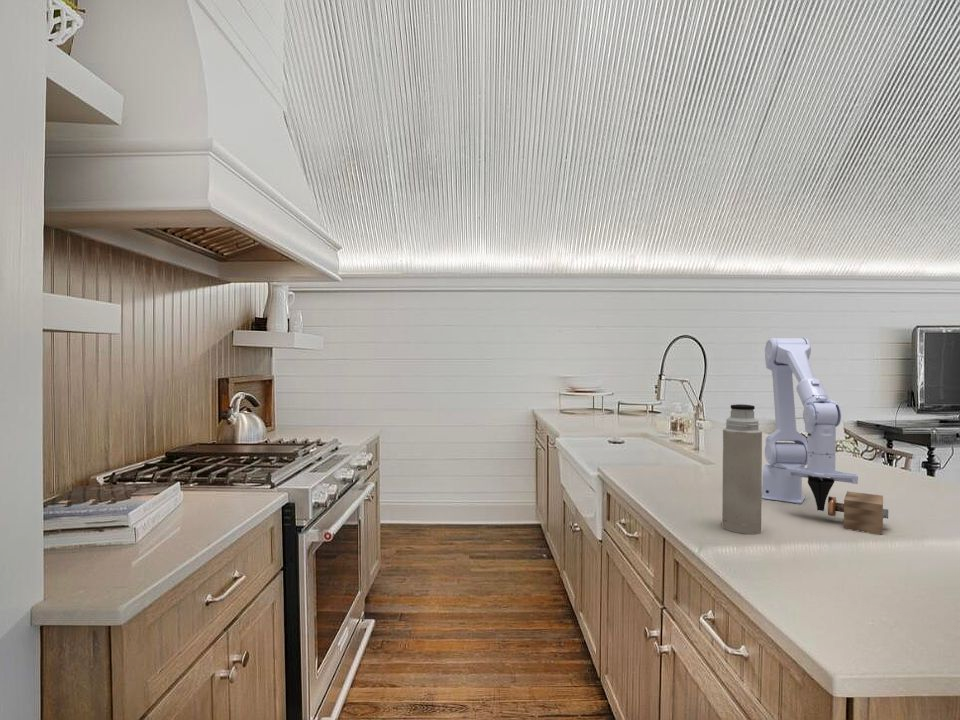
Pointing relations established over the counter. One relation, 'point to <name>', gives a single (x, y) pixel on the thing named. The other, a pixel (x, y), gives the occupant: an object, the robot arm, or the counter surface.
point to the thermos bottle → (742, 471)
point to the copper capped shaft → (840, 508)
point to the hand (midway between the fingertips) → (820, 509)
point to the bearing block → (863, 512)
